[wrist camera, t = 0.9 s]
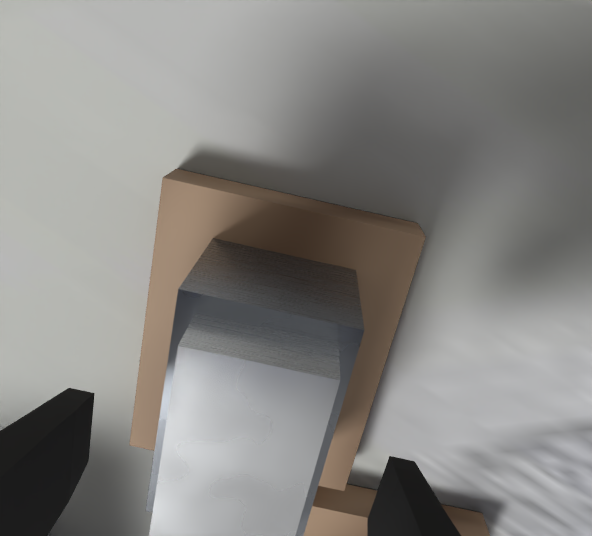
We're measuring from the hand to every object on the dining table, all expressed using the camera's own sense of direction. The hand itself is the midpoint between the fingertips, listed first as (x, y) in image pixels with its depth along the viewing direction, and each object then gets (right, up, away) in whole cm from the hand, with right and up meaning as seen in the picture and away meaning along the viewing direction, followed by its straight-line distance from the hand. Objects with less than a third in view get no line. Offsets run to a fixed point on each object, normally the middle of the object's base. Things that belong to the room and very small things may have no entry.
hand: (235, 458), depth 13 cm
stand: (0, +2, +6) cm, 7 cm away
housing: (0, +2, +5) cm, 5 cm away
